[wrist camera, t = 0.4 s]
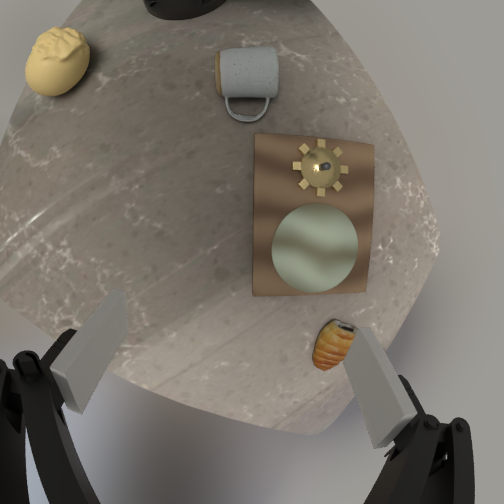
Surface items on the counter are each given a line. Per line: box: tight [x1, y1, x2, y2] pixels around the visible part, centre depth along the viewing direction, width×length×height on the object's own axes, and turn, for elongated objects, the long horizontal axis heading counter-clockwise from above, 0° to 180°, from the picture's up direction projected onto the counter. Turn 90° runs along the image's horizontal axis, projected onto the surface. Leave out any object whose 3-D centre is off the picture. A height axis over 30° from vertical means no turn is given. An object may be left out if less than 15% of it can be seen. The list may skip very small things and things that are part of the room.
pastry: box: [313, 320, 358, 371], centre depth 42 cm, size 9×7×4 cm
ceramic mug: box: [215, 46, 279, 122], centre depth 31 cm, size 11×8×8 cm
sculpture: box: [25, 27, 90, 96], centre depth 25 cm, size 12×12×11 cm
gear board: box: [252, 133, 374, 296], centre depth 38 cm, size 23×18×2 cm
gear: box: [291, 139, 348, 197], centre depth 34 cm, size 8×8×4 cm
